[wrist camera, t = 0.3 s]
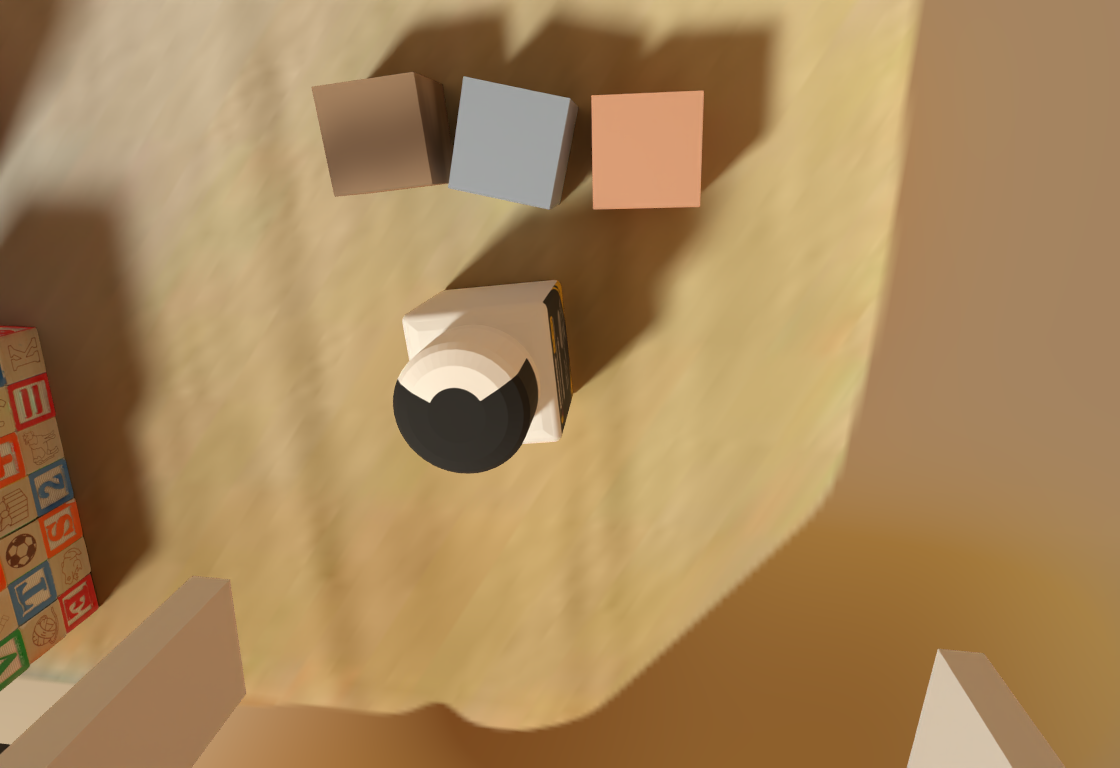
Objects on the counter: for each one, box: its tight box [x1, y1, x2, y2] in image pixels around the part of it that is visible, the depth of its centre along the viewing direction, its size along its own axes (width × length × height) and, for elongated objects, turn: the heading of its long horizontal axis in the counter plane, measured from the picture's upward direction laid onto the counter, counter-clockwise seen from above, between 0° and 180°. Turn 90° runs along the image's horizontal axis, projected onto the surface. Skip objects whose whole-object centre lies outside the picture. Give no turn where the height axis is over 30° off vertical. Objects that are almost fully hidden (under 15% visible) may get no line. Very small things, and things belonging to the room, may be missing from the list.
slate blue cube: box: [448, 76, 579, 210], centre depth 33 cm, size 5×5×5 cm
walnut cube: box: [312, 72, 453, 197], centre depth 34 cm, size 5×5×5 cm
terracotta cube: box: [591, 90, 704, 209], centre depth 33 cm, size 5×5×5 cm
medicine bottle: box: [393, 280, 573, 473], centre depth 34 cm, size 7×7×12 cm
